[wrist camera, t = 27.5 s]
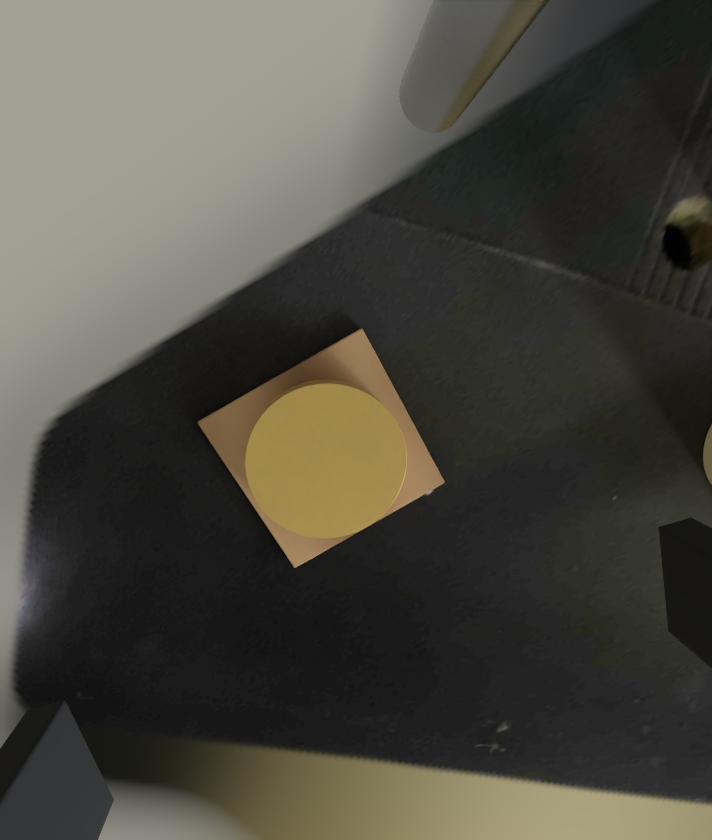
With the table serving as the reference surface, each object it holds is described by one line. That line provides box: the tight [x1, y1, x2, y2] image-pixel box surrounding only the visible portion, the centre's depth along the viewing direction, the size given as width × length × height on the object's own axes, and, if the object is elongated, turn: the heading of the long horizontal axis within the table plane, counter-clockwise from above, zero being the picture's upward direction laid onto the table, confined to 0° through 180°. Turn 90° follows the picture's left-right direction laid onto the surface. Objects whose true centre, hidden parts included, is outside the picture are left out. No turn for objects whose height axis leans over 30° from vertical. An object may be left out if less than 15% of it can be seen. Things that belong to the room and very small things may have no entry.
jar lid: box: [245, 379, 407, 538], centre depth 26 cm, size 9×9×2 cm
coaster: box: [198, 329, 444, 568], centre depth 28 cm, size 11×11×1 cm
